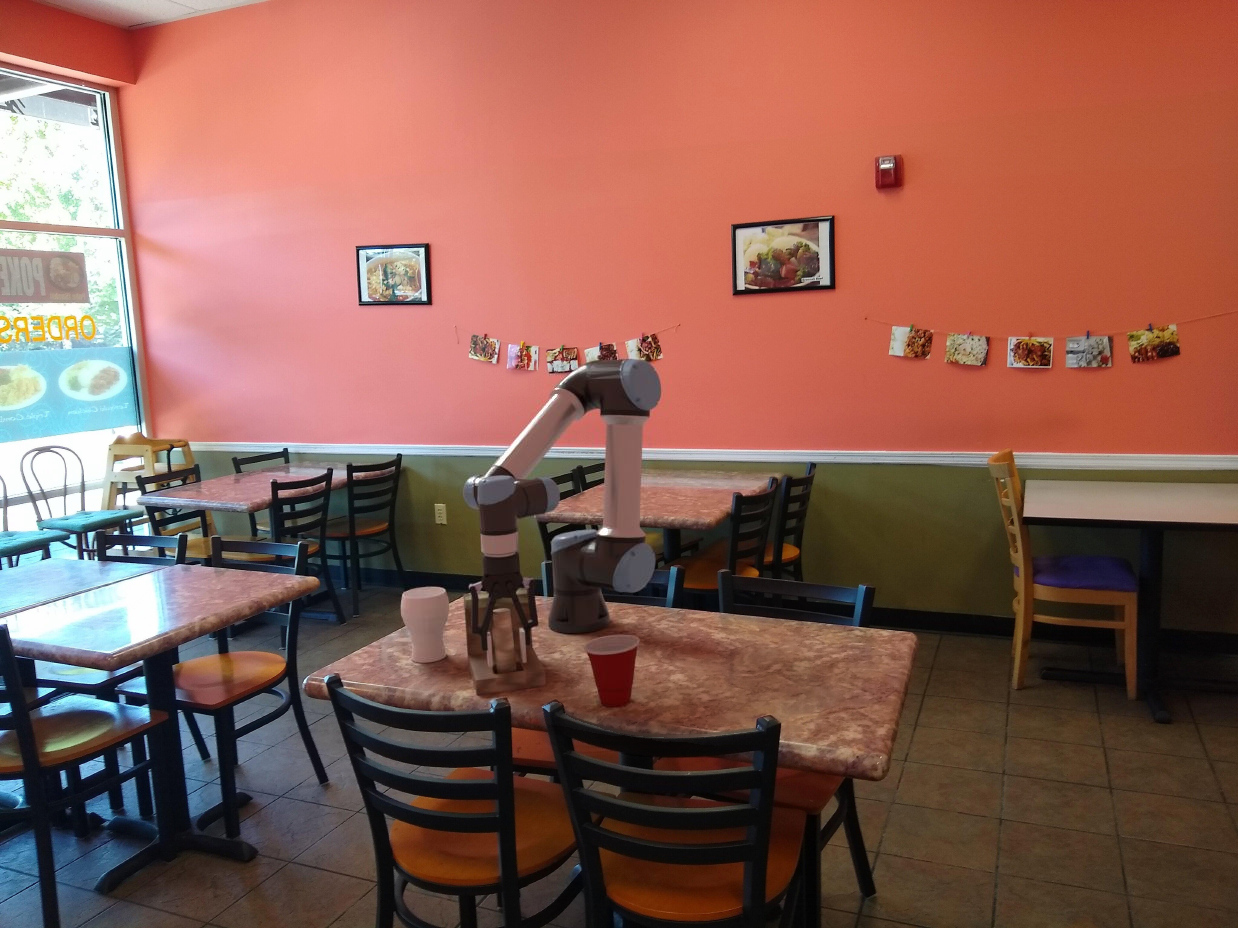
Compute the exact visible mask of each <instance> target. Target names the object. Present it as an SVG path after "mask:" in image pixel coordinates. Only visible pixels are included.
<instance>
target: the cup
mask: <svg viewBox="0 0 1238 928" xmlns="http://www.w3.org/2000/svg"><path fill="white" fill-rule="evenodd" d="M447 593H448V592H447V591H446V589H445V588H444V587H440V586H425V587H424V586H423V587H416V588H411V589H409V590H407V591H403V593H402V596H401V602H400V615H401V618H402V621H403V623H404V625H405V627H406V628H407V630H408V632H409V633H410V639H411V642H412V646H411V655H410V656H411V657H410V658H411V661H412V662H415V663H420V664H423V663H425V664H426V663H433V662H438V661H441V660H442V659H445V658H446V656H447V653H446V646H445V643H444V629H445V627H446V624H447V622H448V619H449V615H450V600H449V597H448V594H447Z"/></svg>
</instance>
